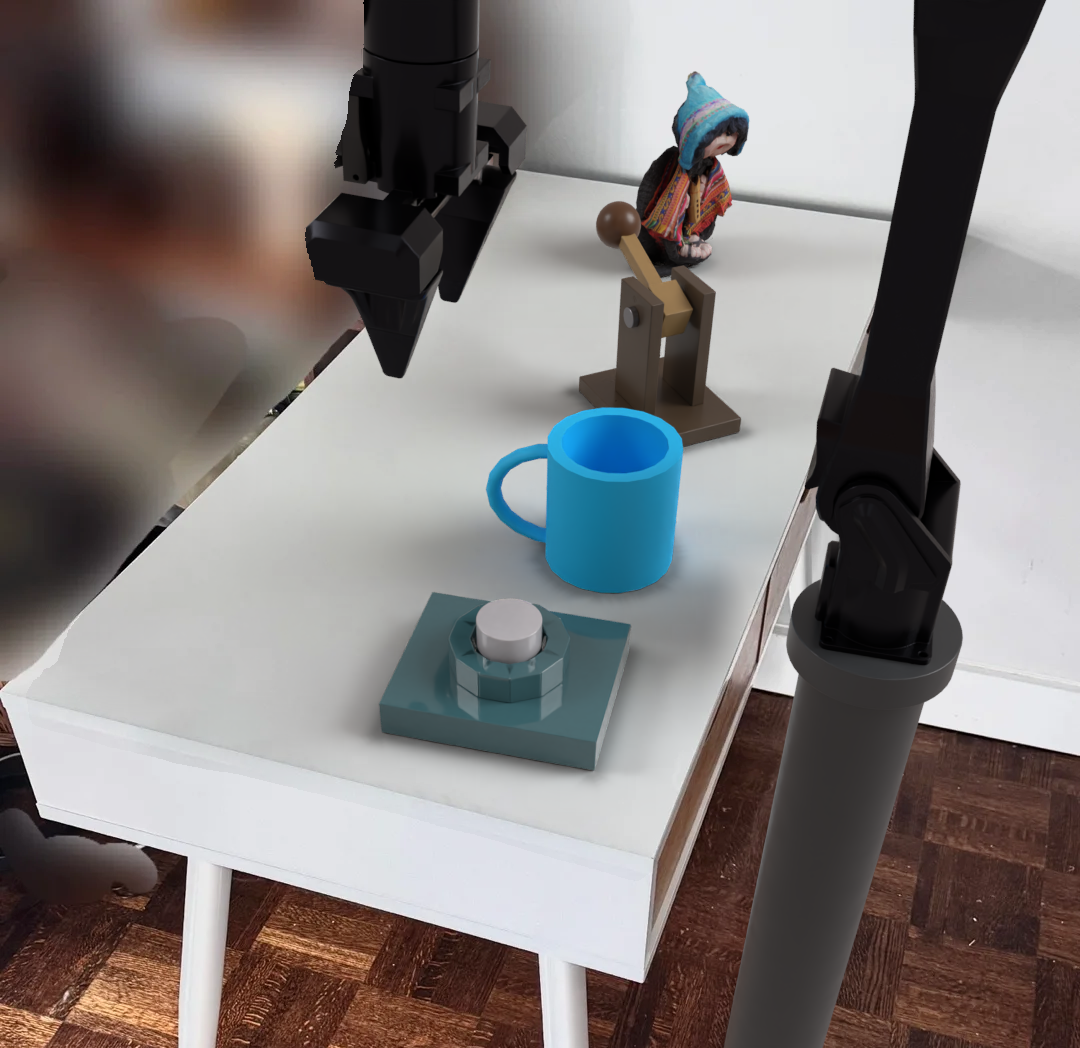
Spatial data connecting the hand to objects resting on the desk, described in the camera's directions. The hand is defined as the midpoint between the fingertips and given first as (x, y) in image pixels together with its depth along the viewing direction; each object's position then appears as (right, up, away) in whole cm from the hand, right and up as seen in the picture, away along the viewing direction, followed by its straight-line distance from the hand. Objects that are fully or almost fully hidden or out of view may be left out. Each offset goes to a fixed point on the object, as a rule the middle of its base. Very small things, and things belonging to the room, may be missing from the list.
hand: (423, 336), depth 76 cm
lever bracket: (+15, +1, +22) cm, 27 cm away
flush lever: (+14, +9, +19) cm, 25 cm away
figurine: (+19, +18, +40) cm, 48 cm away
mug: (+9, -11, +10) cm, 17 cm away
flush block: (+5, -20, 0) cm, 21 cm away
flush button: (+5, -18, -2) cm, 18 cm away
